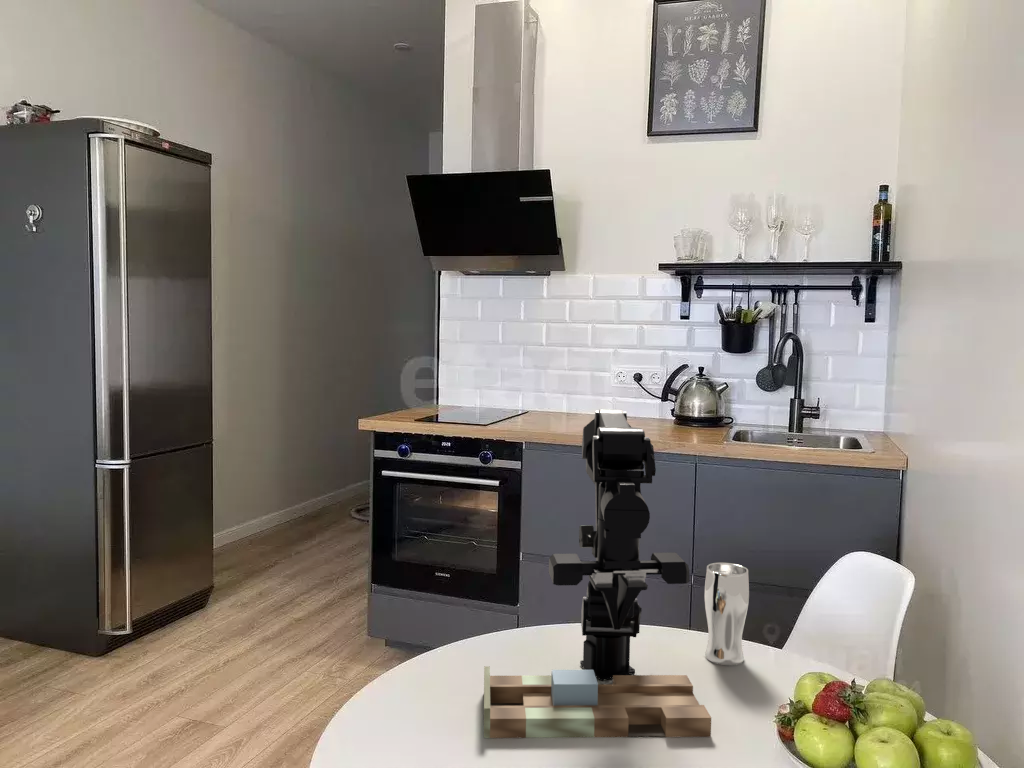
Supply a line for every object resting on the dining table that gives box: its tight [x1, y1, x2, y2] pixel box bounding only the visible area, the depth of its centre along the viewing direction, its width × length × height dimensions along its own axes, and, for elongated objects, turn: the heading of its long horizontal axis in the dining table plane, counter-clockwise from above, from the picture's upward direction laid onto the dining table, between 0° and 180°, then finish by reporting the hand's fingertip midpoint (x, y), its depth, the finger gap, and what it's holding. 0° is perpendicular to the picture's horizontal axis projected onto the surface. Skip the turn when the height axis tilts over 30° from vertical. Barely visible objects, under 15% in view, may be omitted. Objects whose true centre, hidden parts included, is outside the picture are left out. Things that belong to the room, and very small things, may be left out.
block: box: [550, 669, 599, 705], centre depth 107 cm, size 6×4×4 cm
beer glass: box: [704, 562, 750, 667], centre depth 125 cm, size 7×7×15 cm
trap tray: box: [483, 665, 712, 739], centre depth 107 cm, size 30×12×4 cm, turn 92°
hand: (616, 628), depth 107 cm, fingers closed
